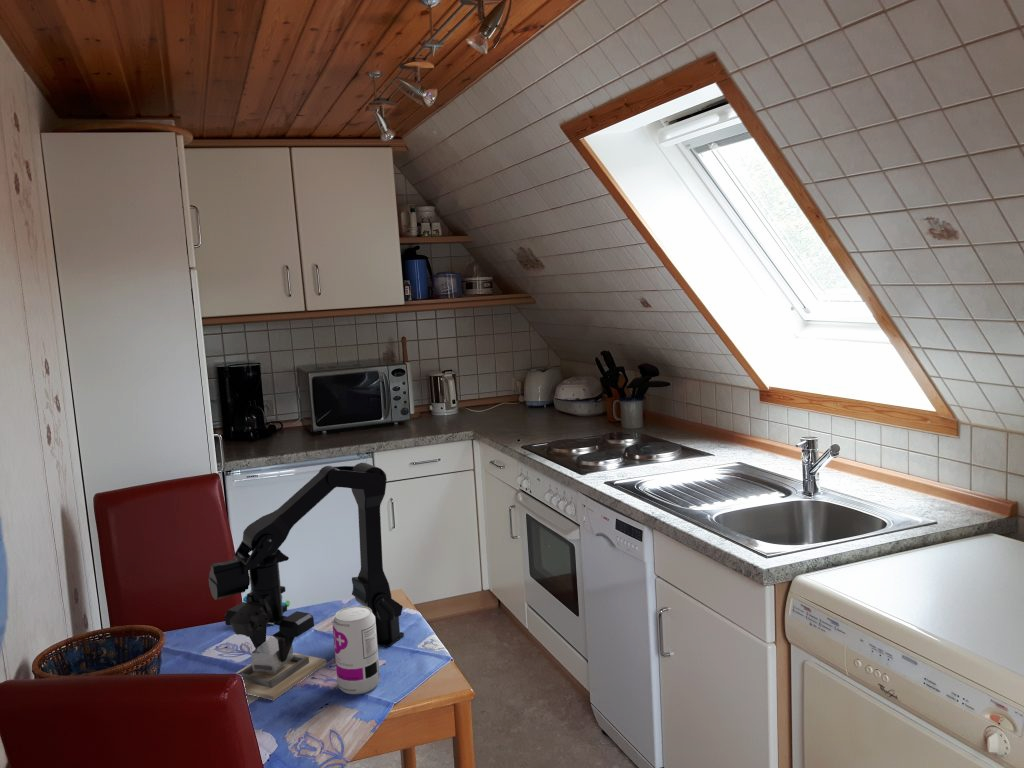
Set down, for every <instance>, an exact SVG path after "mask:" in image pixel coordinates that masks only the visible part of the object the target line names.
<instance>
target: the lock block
mask: <svg viewBox="0 0 1024 768" xmlns="http://www.w3.org/2000/svg"><path fill="white" fill-rule="evenodd" d="M293 653H294V650H293V644H292V645H291V648H290V651H289V653H288V656H287V659H286V660H285V661H284V662H281V659H280V654H279V646H278V640H277V639H276V638H275V637H269V638H267V639H266V641H265V642H264V643H263V644H262V645H260V646H259V647H258V648H257V649H254V650H253V651H252V652H250V655H251V656H250V657H251V663H252V667H253V672H261V673H271V674H275V673H276V672H278V671H279V670H280V669H281V668H282V667H283V666H284V665H286V664H287V663H288V662H289V661H290V660H291V659H292V658H293Z"/></svg>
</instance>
